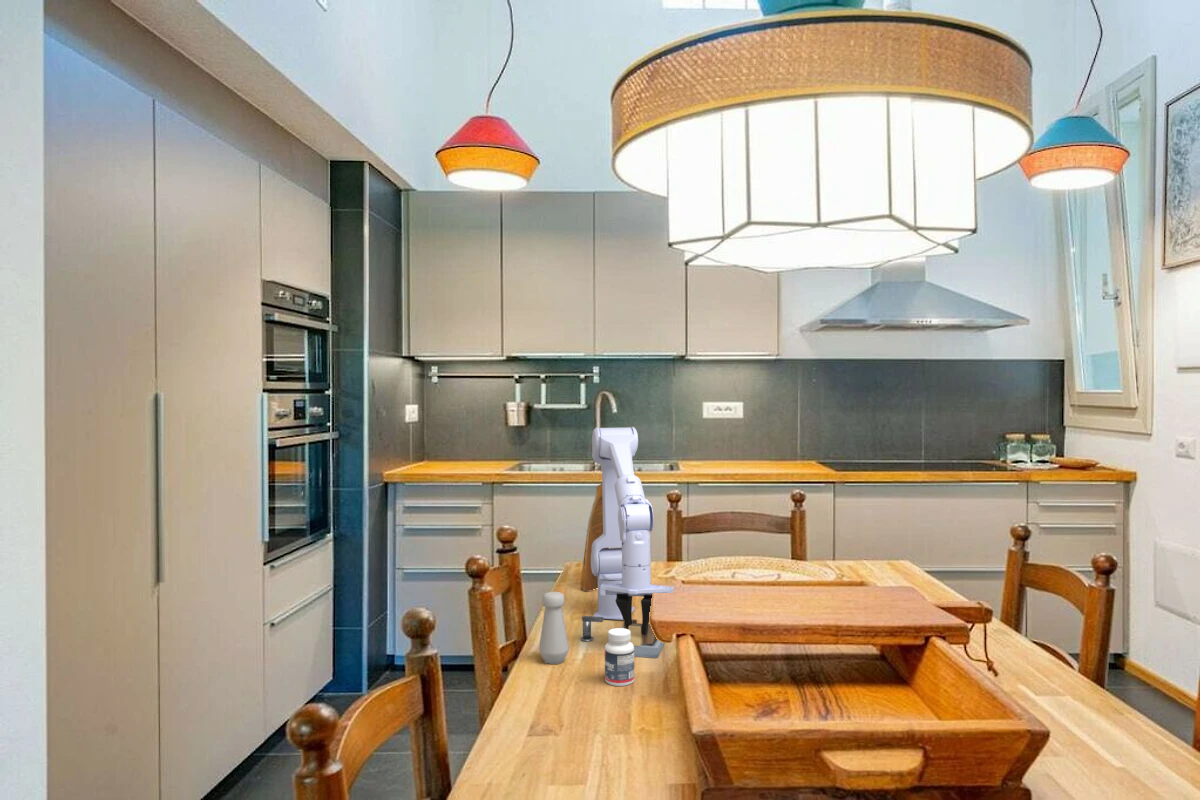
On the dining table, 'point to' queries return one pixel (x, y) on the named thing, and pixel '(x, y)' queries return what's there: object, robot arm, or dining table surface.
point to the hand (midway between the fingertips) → (637, 633)
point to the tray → (648, 649)
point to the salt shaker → (553, 629)
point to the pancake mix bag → (592, 534)
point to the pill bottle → (619, 658)
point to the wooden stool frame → (640, 634)
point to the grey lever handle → (589, 627)
